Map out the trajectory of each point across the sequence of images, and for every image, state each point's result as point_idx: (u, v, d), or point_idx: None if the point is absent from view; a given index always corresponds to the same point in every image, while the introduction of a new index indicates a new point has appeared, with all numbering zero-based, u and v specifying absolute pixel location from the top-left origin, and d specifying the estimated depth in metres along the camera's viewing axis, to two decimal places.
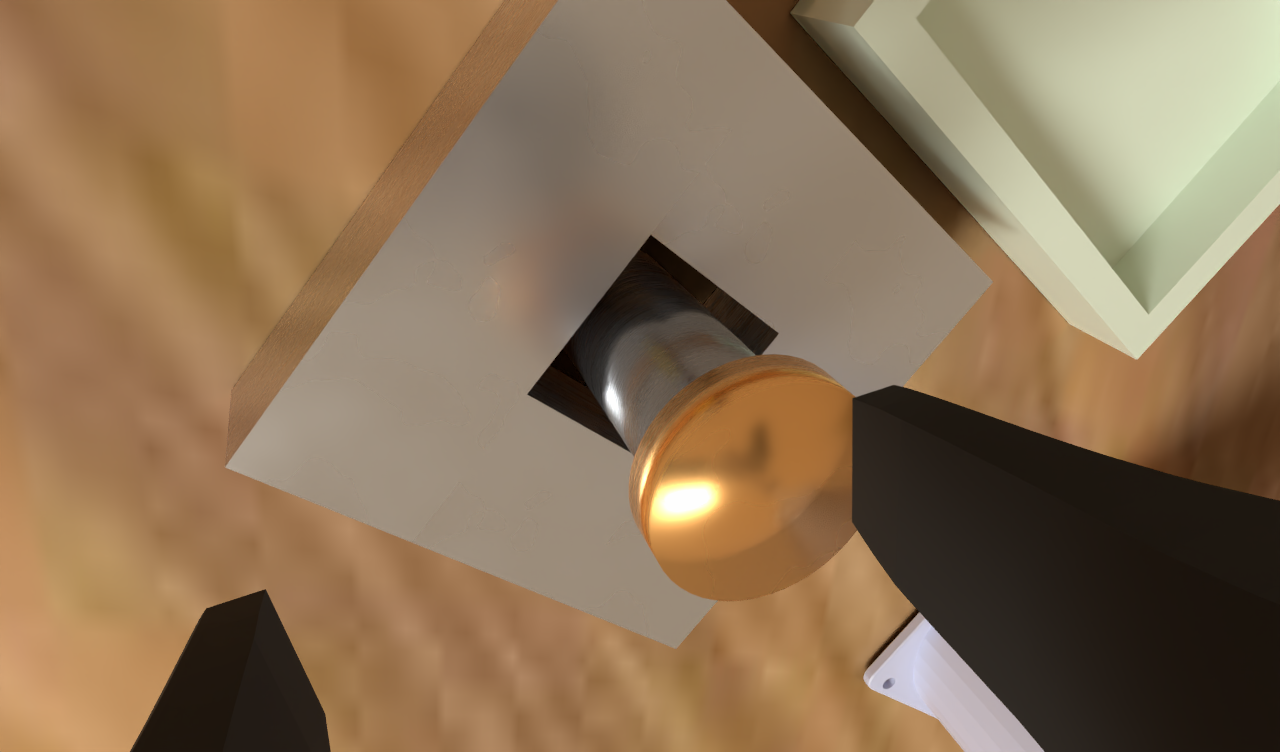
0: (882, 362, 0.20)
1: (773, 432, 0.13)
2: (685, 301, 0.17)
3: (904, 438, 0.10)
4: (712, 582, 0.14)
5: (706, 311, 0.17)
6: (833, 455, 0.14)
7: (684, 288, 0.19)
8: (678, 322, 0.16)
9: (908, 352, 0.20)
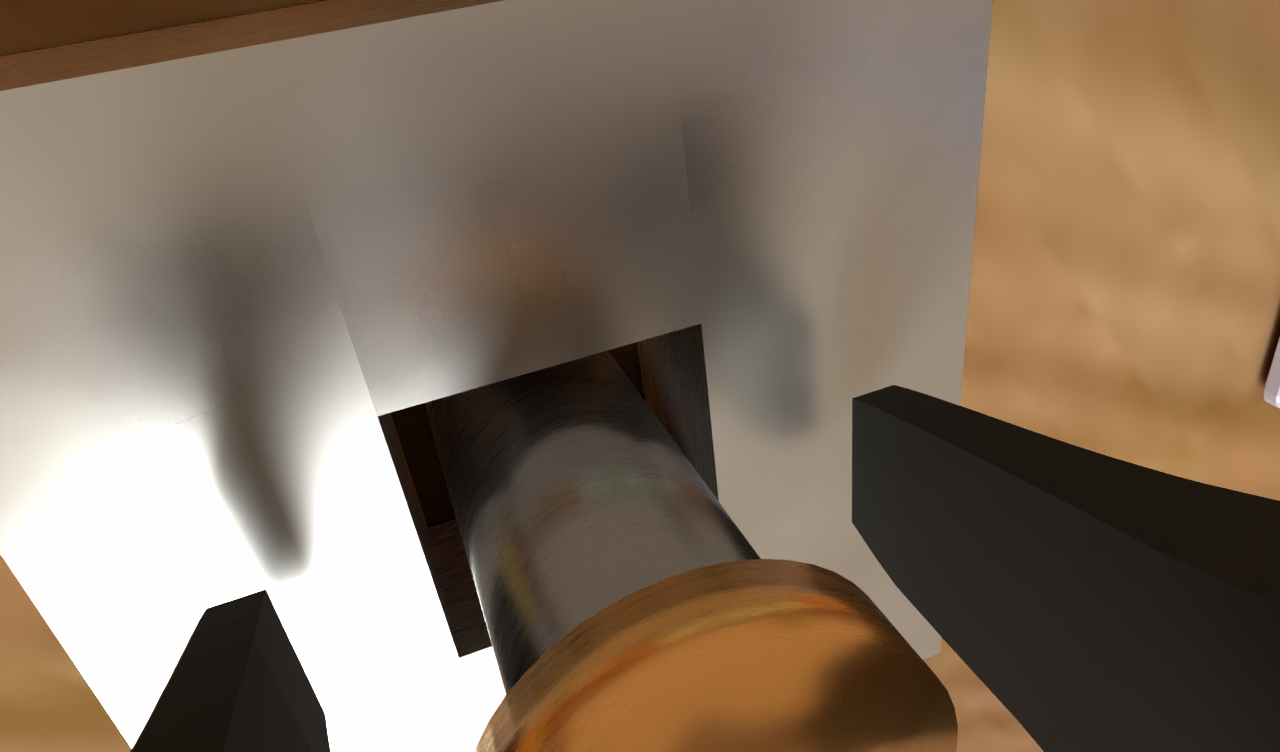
0: (908, 197, 0.11)
1: None
2: (513, 435, 0.10)
3: (904, 438, 0.10)
4: None
5: (547, 431, 0.10)
6: (783, 732, 0.07)
7: None
8: (496, 518, 0.09)
9: (941, 145, 0.11)
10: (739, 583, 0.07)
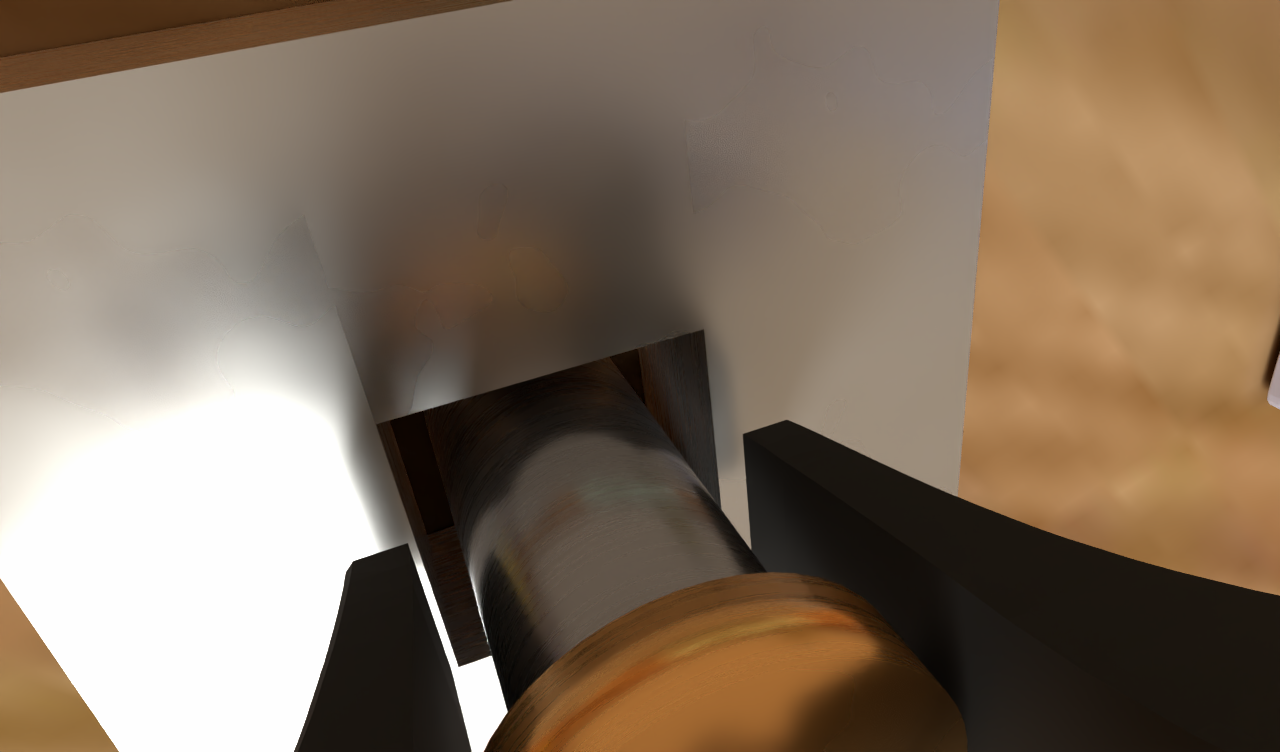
0: (913, 200, 0.11)
1: None
2: (513, 443, 0.10)
3: (786, 479, 0.09)
4: None
5: (547, 439, 0.10)
6: (791, 750, 0.06)
7: None
8: (496, 528, 0.09)
9: (947, 147, 0.11)
10: (745, 598, 0.07)
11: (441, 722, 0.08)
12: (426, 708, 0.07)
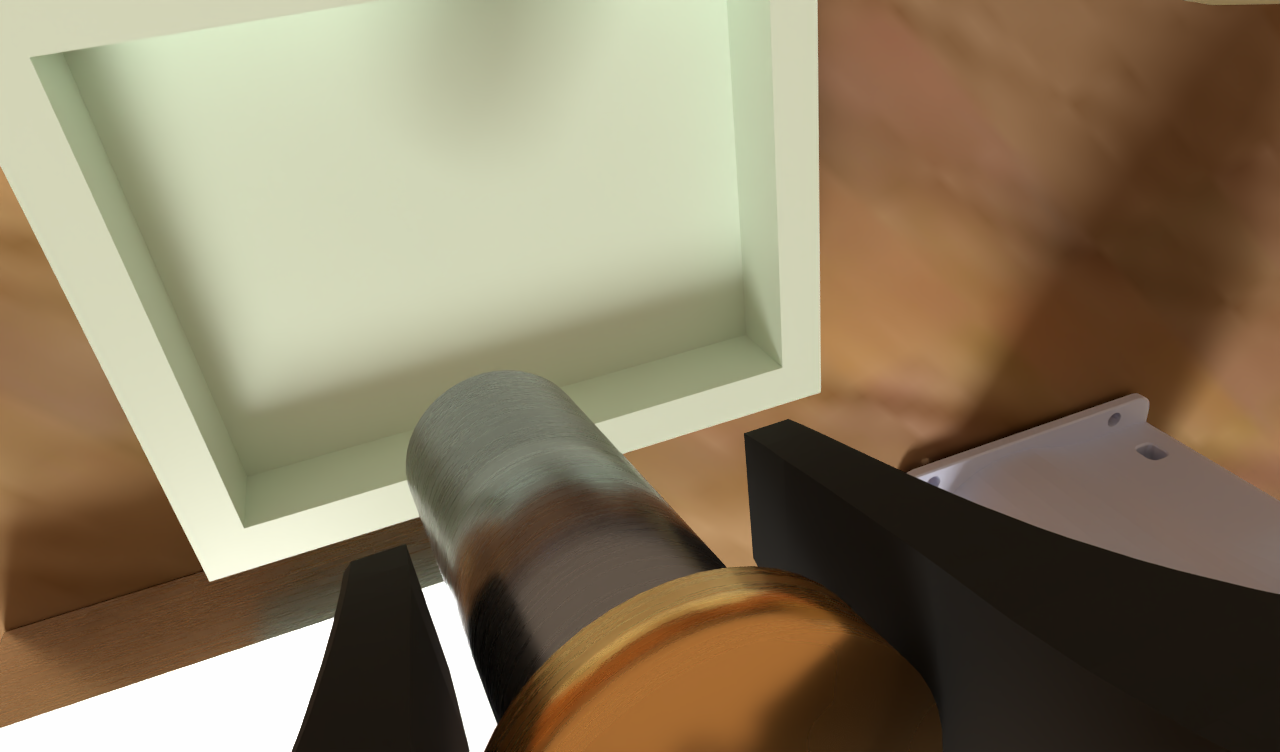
0: None
1: None
2: (501, 482, 0.11)
3: (787, 478, 0.09)
4: None
5: (535, 475, 0.10)
6: (780, 727, 0.07)
7: (518, 421, 0.12)
8: (488, 556, 0.10)
9: None
10: (734, 585, 0.07)
11: (439, 723, 0.08)
12: (424, 709, 0.07)
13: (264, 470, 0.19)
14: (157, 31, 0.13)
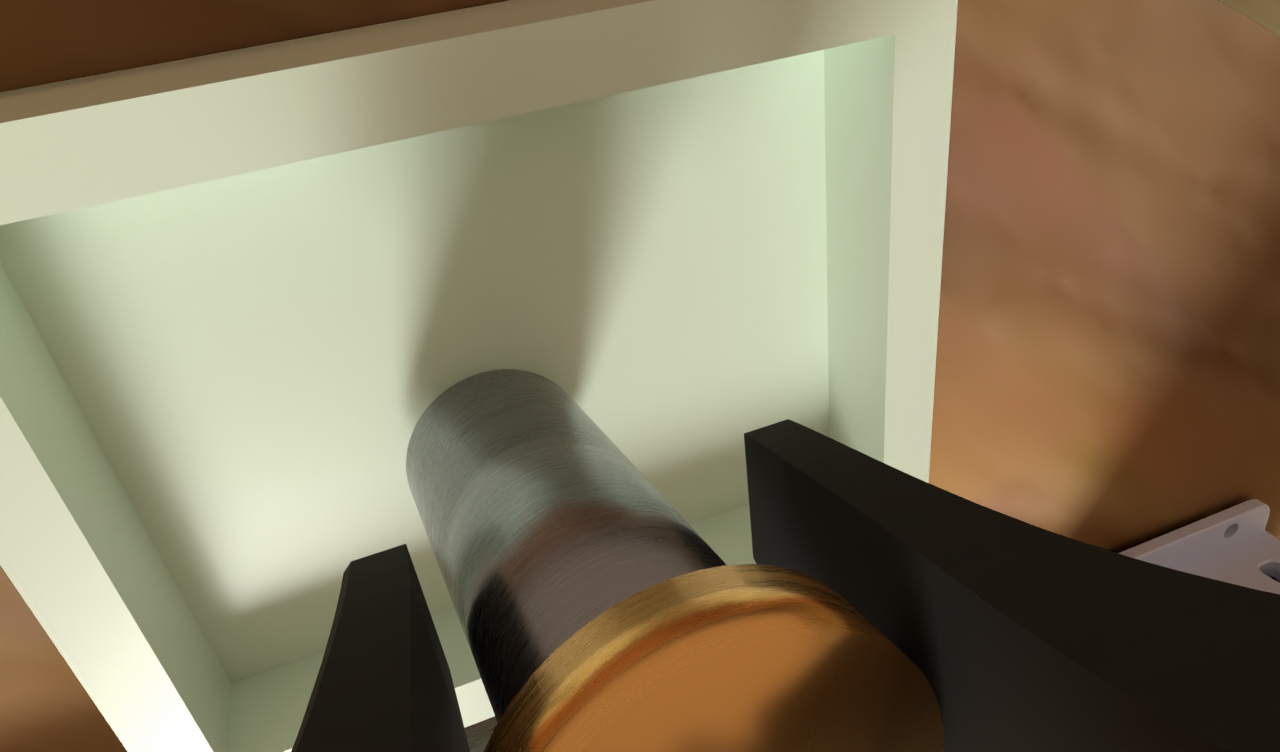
0: None
1: None
2: (502, 480, 0.11)
3: (787, 478, 0.09)
4: None
5: (535, 474, 0.10)
6: (782, 725, 0.07)
7: (519, 419, 0.12)
8: (488, 555, 0.10)
9: None
10: (735, 582, 0.07)
11: (439, 723, 0.08)
12: (424, 709, 0.07)
13: (253, 673, 0.15)
14: (89, 199, 0.09)
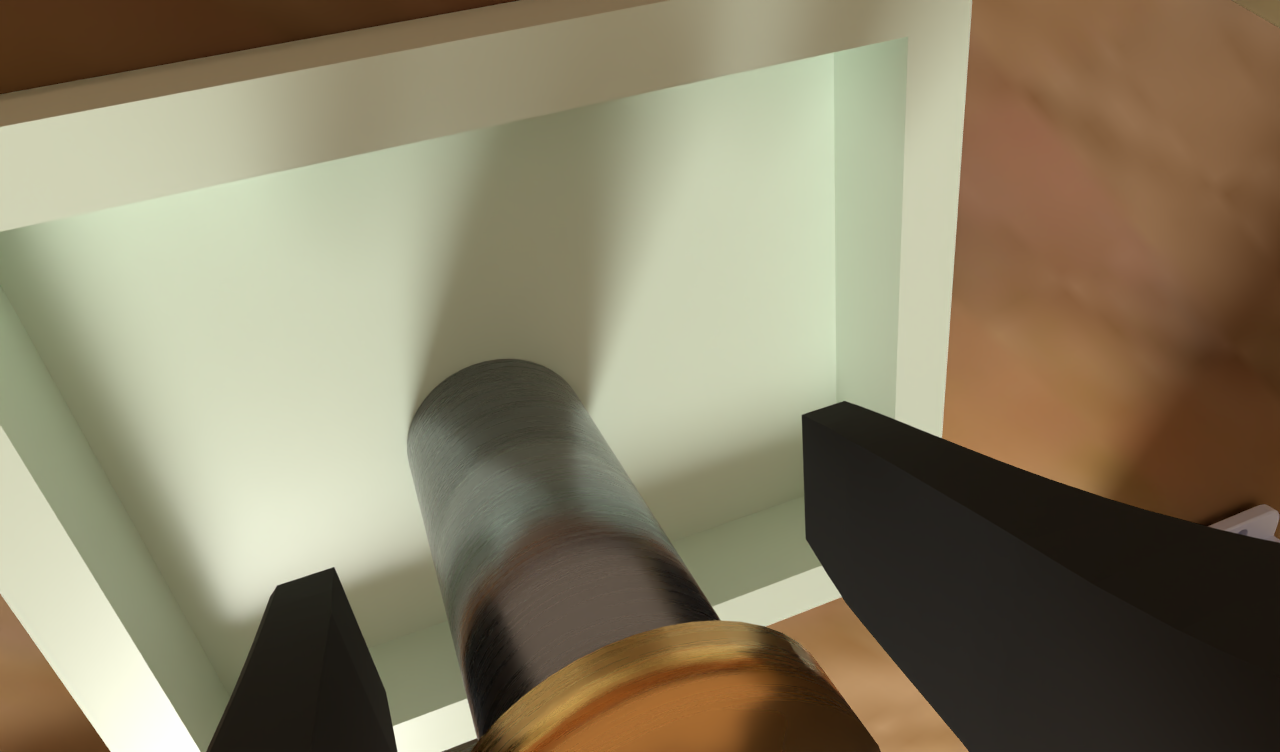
0: None
1: None
2: (493, 489, 0.11)
3: (849, 457, 0.10)
4: None
5: (524, 486, 0.11)
6: None
7: (514, 421, 0.12)
8: (474, 567, 0.10)
9: None
10: (695, 643, 0.08)
11: None
12: (333, 743, 0.07)
13: None
14: (82, 206, 0.09)
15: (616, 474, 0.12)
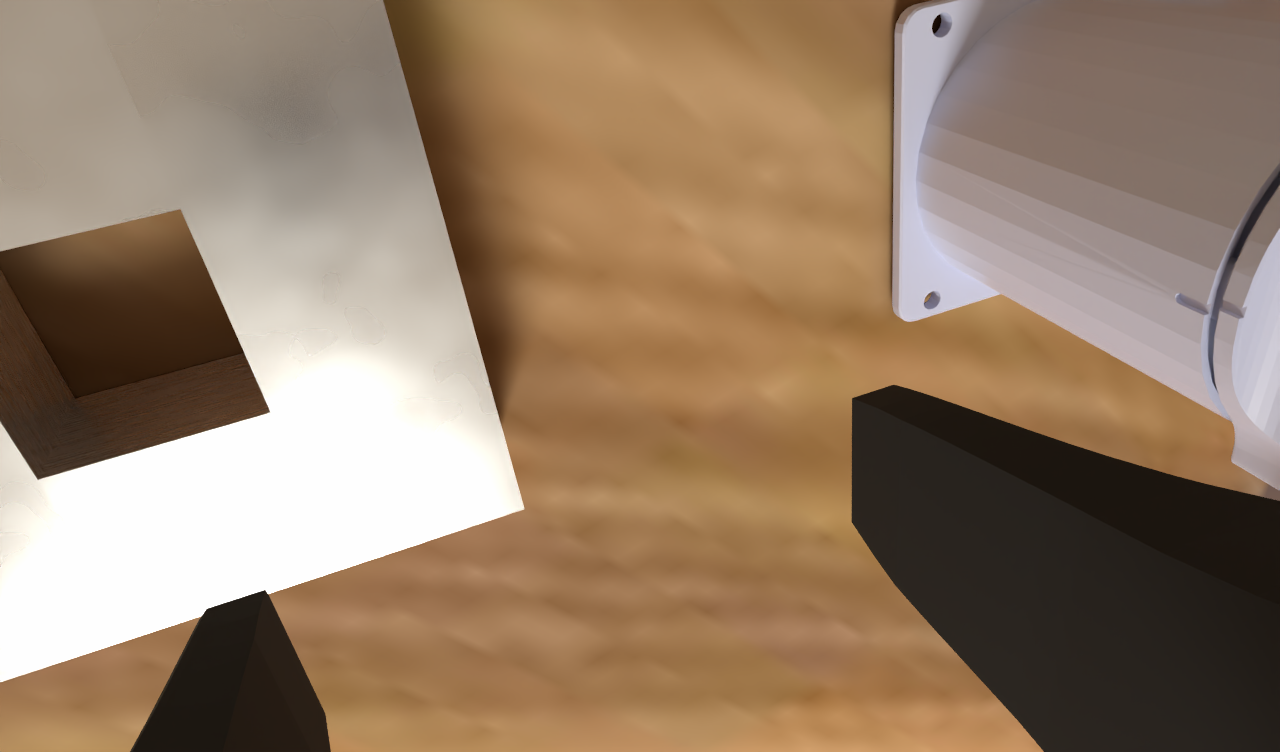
0: (346, 110, 0.14)
1: None
2: None
3: (904, 438, 0.10)
4: None
5: None
6: None
7: None
8: None
9: (363, 68, 0.14)
10: None
11: None
12: None
13: None
14: None
15: None
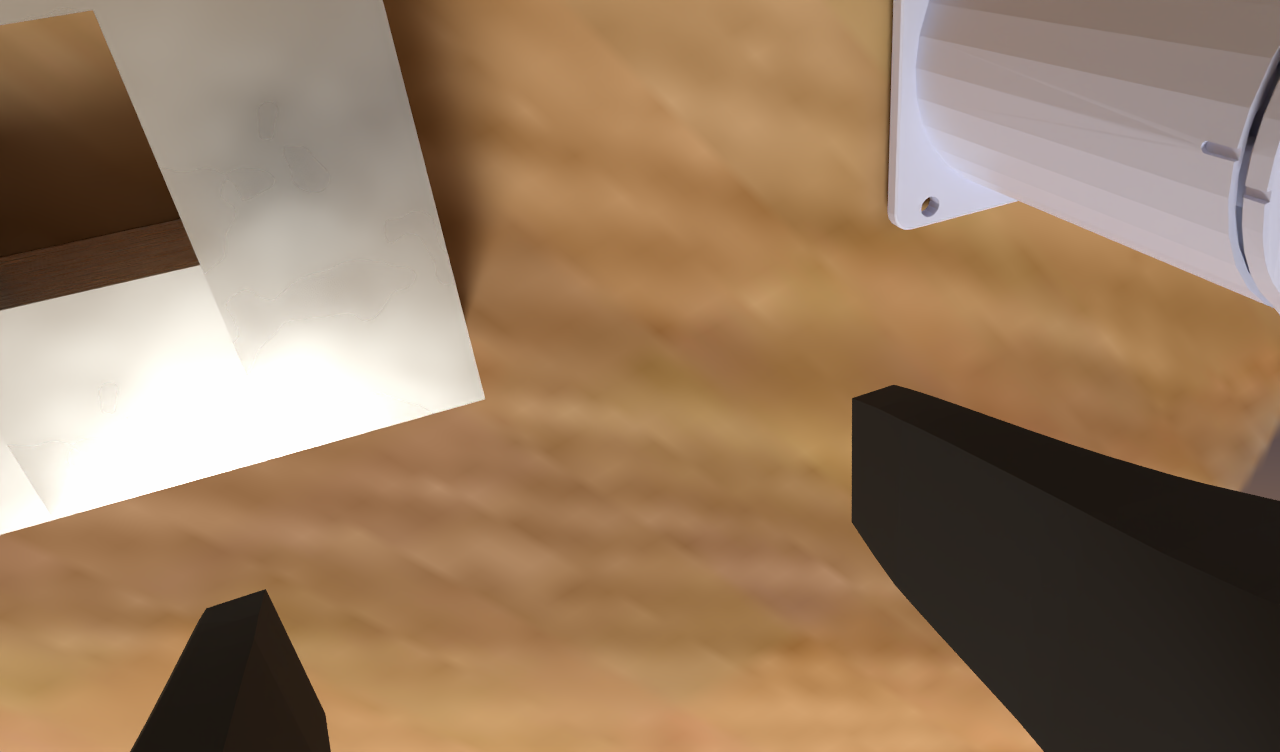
0: None
1: None
2: None
3: (904, 438, 0.10)
4: None
5: None
6: None
7: None
8: None
9: None
10: None
11: None
12: None
13: None
14: None
15: None
